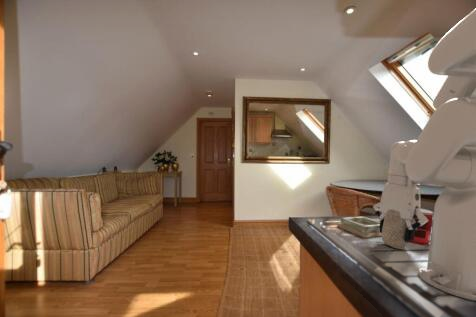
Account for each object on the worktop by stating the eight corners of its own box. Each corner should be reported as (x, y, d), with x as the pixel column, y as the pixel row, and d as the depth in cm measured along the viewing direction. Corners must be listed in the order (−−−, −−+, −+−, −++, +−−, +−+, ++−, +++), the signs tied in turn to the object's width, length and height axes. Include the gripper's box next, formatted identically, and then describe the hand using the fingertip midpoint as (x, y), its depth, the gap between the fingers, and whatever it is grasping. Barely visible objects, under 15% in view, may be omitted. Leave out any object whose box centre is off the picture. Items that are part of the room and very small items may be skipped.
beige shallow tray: (365, 237, 81) (366, 227, 81) (337, 226, 92) (338, 217, 92) (390, 234, 88) (391, 225, 87) (361, 224, 98) (362, 215, 98)
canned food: (419, 237, 87) (423, 208, 86) (435, 246, 79) (439, 213, 78) (397, 235, 87) (400, 205, 87) (410, 243, 80) (414, 211, 79)
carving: (412, 252, 71) (416, 213, 71) (383, 247, 74) (387, 209, 73) (404, 245, 77) (408, 208, 77) (378, 240, 80) (382, 205, 79)
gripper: (441, 186, 69) (433, 246, 69) (382, 177, 84) (376, 226, 85) (426, 186, 65) (419, 249, 66) (368, 177, 81) (362, 228, 82)
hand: (395, 236), depth 76 cm, fingers closed on carving, 7 cm apart
